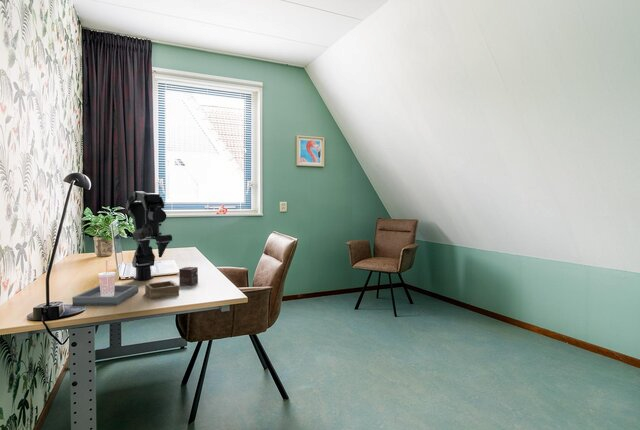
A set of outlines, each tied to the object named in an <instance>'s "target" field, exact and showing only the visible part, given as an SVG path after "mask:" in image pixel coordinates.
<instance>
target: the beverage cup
mask: <svg viewBox="0 0 640 430" xmlns="http://www.w3.org/2000/svg"><path fill="white" fill-rule="evenodd" d="M108 268H109V267H108V260H107V259H106V260H105V271H103V272H99V273H97V276H98V281H99V285H100V293H101V297H112V296H114V289H115V285H116V273H117V272H115V271H109V270H108Z"/></svg>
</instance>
